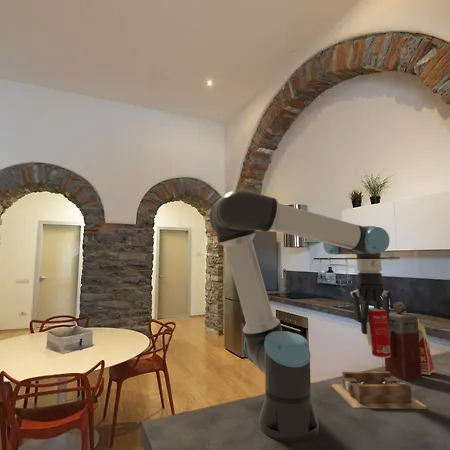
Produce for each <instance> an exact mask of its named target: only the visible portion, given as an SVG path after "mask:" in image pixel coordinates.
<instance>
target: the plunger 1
mask: <svg viewBox="0 0 450 450" xmlns="http://www.w3.org/2000/svg"><path fill="white" fill-rule="evenodd" d="M352 384H367V383H366V382H361V383H350V382H349V381H345V387H346V389H347V390H348V391H351V388H352Z"/></svg>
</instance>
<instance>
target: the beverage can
mask: <svg viewBox="0 0 450 450" xmlns="http://www.w3.org/2000/svg"><path fill="white" fill-rule="evenodd" d="M367 321H368V324H369V325H370V342H371V345H370V346H371V347H370V348H371V355H372V356H374V357H375V358H381V359H385V358H388V357H390V356H391V346H390V337H389V327H388V318H387V313H386V310H385V309H383V308H382V307H381V309H376V308H375V309H374V307H371V308H369V309H368V320H367Z"/></svg>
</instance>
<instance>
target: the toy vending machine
mask: <svg viewBox="0 0 450 450" xmlns="http://www.w3.org/2000/svg"><path fill="white" fill-rule="evenodd" d="M392 309H393V311H394V312H393V311H391V312H389V322H388V327H389V337H390V346H391V356H390V357H388V358H384V371H388V372H390V373H391V377H394V378H396V379H398V380H401V381H403V382H405V381H411V380H412V381H413V380H416V379H417V380H418V379H422V374H421V361H420V345H419V329H418V319H419V318H418V315H416V314H412V313H407V312H405V311H406V305H405V303H404V302H403V301H396V302H394V303H393V304H392Z"/></svg>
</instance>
